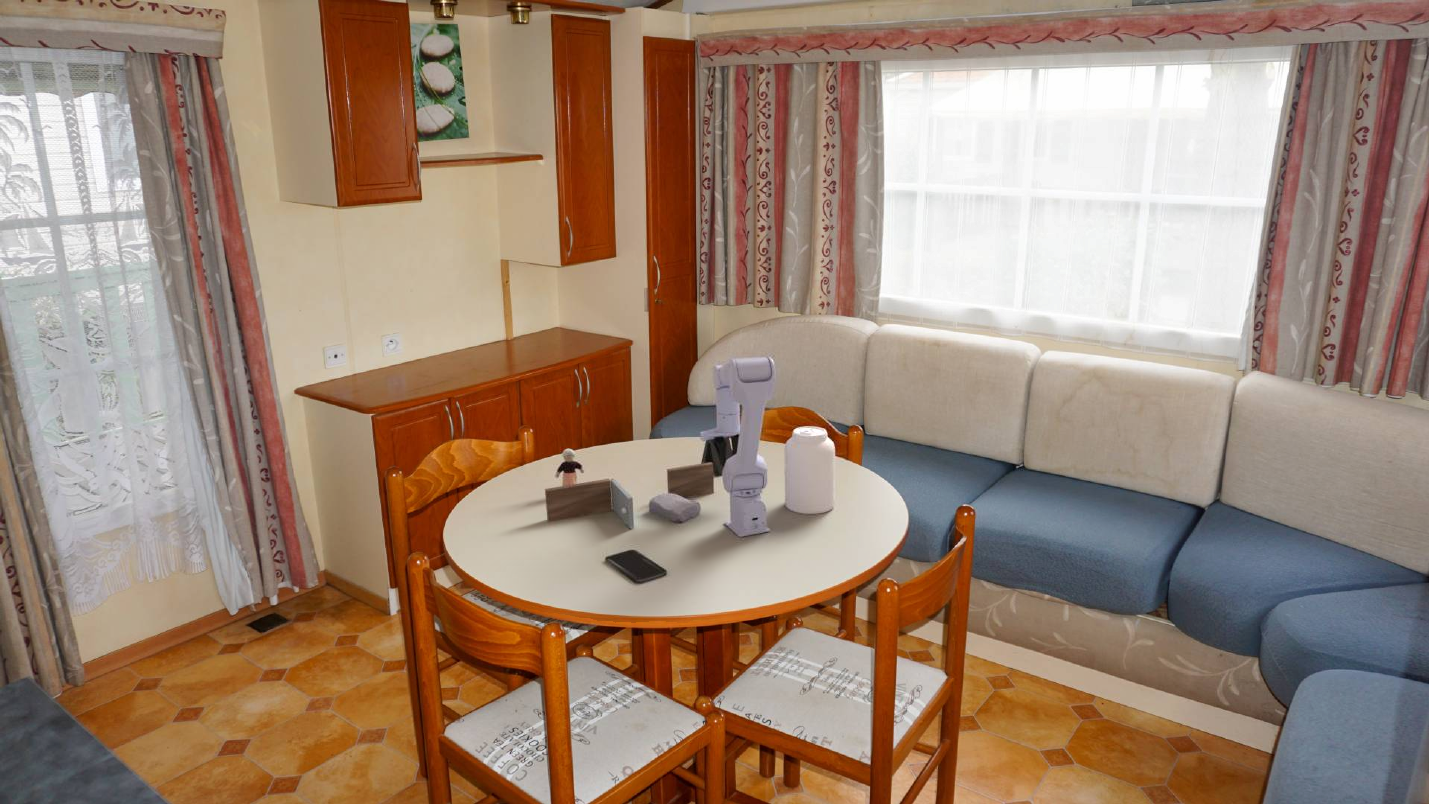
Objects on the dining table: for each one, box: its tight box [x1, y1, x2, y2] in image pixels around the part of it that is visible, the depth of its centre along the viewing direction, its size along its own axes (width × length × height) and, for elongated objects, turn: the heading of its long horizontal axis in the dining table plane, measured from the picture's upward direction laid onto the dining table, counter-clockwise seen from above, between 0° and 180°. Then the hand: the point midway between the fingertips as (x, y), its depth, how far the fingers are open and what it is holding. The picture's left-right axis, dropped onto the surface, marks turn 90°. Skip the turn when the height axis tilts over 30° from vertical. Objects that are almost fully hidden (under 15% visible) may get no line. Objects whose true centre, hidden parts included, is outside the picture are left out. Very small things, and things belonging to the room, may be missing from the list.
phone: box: [604, 549, 668, 585], centre depth 215 cm, size 8×1×15 cm
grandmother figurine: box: [554, 448, 585, 486], centre depth 258 cm, size 8×4×13 cm, turn 123°
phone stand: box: [700, 436, 732, 477], centre depth 273 cm, size 9×6×12 cm, turn 36°
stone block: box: [648, 492, 702, 524], centre depth 245 cm, size 12×5×10 cm
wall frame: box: [544, 462, 715, 522], centre depth 249 cm, size 2×44×8 cm, turn 113°
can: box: [784, 425, 836, 515], centre depth 245 cm, size 12×12×20 cm
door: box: [610, 478, 635, 529], centre depth 241 cm, size 15×2×8 cm, turn 23°
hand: (729, 463), depth 248 cm, fingers open, 3 cm apart
